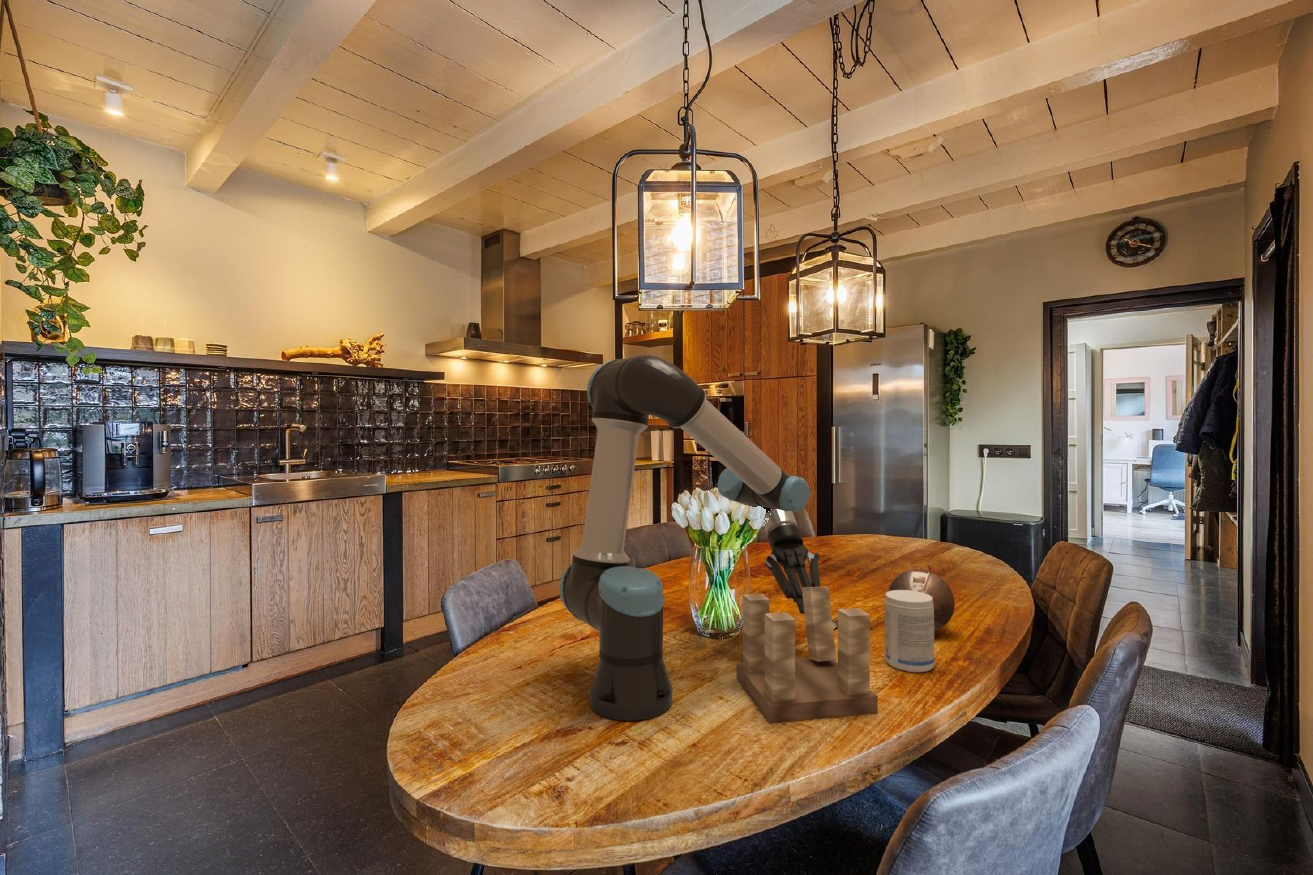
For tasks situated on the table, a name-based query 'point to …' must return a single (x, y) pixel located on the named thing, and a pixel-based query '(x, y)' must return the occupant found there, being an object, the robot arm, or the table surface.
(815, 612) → the hinged leg
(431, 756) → the table surface
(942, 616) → the brown metallic ball
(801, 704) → the stool seat
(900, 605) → the supplement tub
